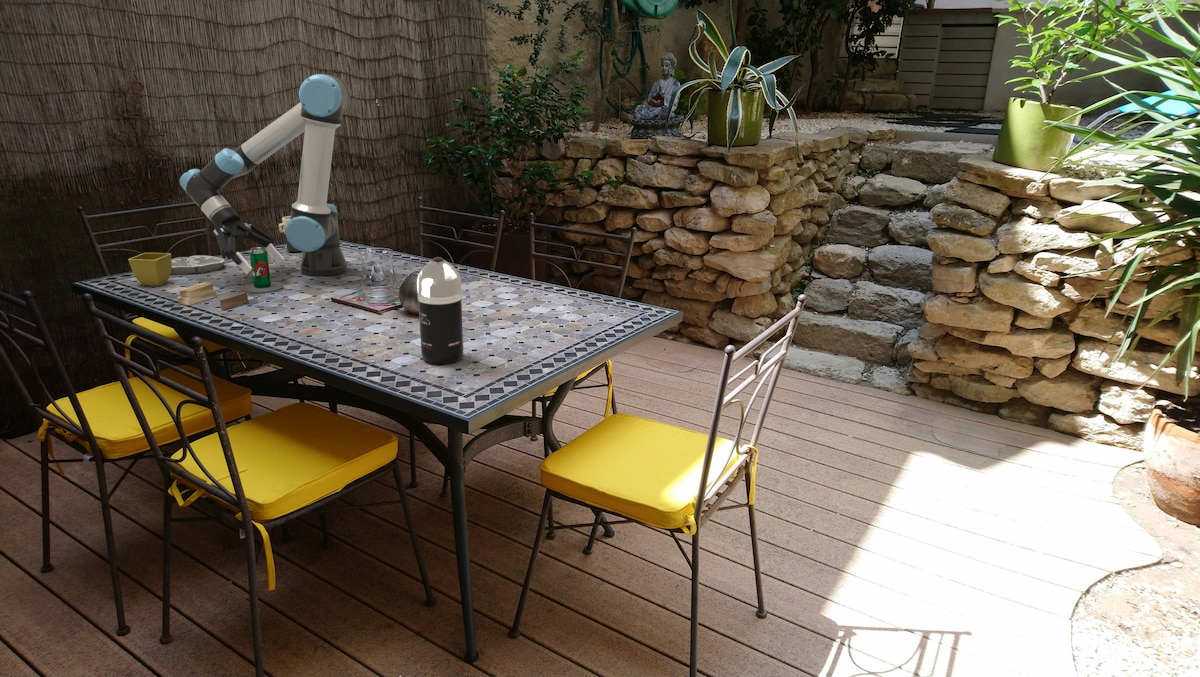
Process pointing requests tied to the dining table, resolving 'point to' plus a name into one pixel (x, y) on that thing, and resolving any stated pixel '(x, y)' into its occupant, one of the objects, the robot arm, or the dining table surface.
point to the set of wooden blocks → (209, 296)
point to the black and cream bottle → (440, 312)
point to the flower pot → (151, 268)
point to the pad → (271, 288)
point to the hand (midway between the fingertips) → (266, 266)
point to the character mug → (284, 224)
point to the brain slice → (196, 264)
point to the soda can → (260, 267)
